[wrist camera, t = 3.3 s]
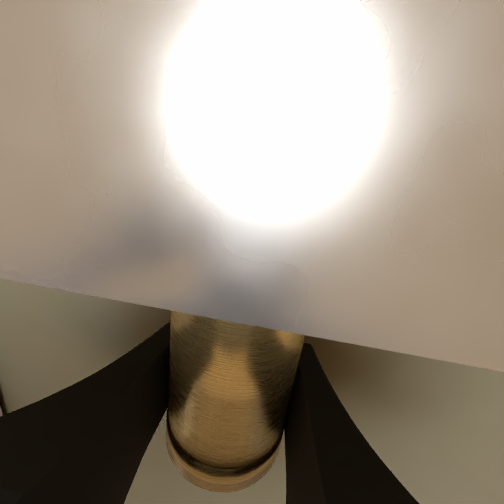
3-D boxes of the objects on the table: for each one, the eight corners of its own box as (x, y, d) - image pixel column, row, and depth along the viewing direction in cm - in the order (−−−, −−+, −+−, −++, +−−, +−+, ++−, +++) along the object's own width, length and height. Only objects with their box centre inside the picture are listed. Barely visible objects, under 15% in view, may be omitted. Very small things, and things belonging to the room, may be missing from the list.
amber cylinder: (188, 373, 12) (144, 475, 9) (206, 84, 8) (134, 35, 4) (281, 392, 12) (278, 506, 8) (347, 102, 8) (399, 67, 4)
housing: (130, 199, 11) (-62, 267, 5) (121, -87, 8) (-393, -786, 2) (397, 241, 10) (548, 380, 4) (498, -55, 7) (1478, -975, 1)
